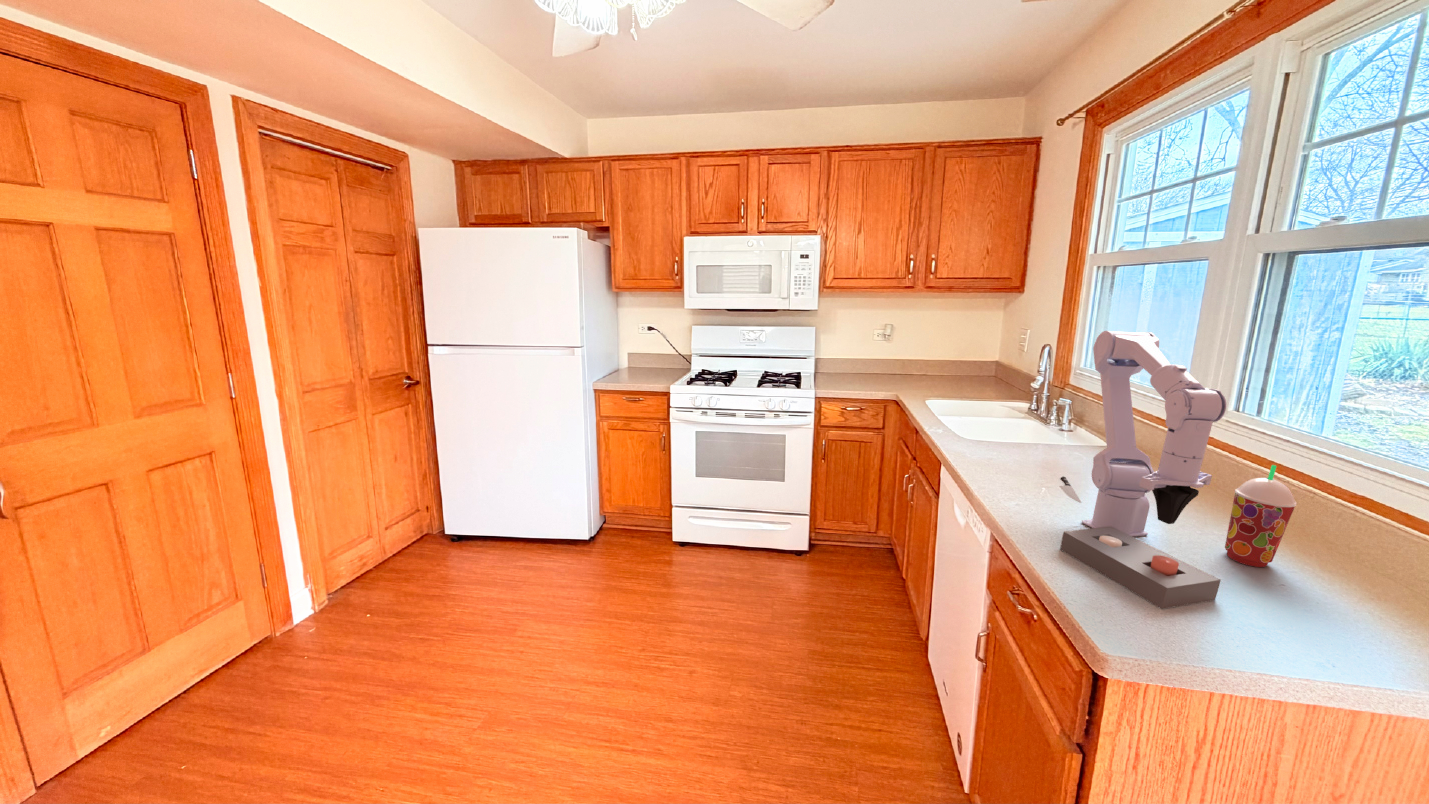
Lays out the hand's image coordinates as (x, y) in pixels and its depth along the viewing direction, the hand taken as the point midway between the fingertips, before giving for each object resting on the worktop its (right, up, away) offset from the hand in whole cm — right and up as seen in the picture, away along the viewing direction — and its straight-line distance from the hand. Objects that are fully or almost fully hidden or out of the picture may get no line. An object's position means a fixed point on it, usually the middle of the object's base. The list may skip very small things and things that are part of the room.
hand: (1165, 521), depth 100 cm
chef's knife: (+7, -1, +38) cm, 39 cm away
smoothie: (+21, -9, +5) cm, 23 cm away
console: (-7, -10, 0) cm, 12 cm away
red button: (-6, -8, -6) cm, 12 cm away
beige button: (-8, -7, +4) cm, 12 cm away
